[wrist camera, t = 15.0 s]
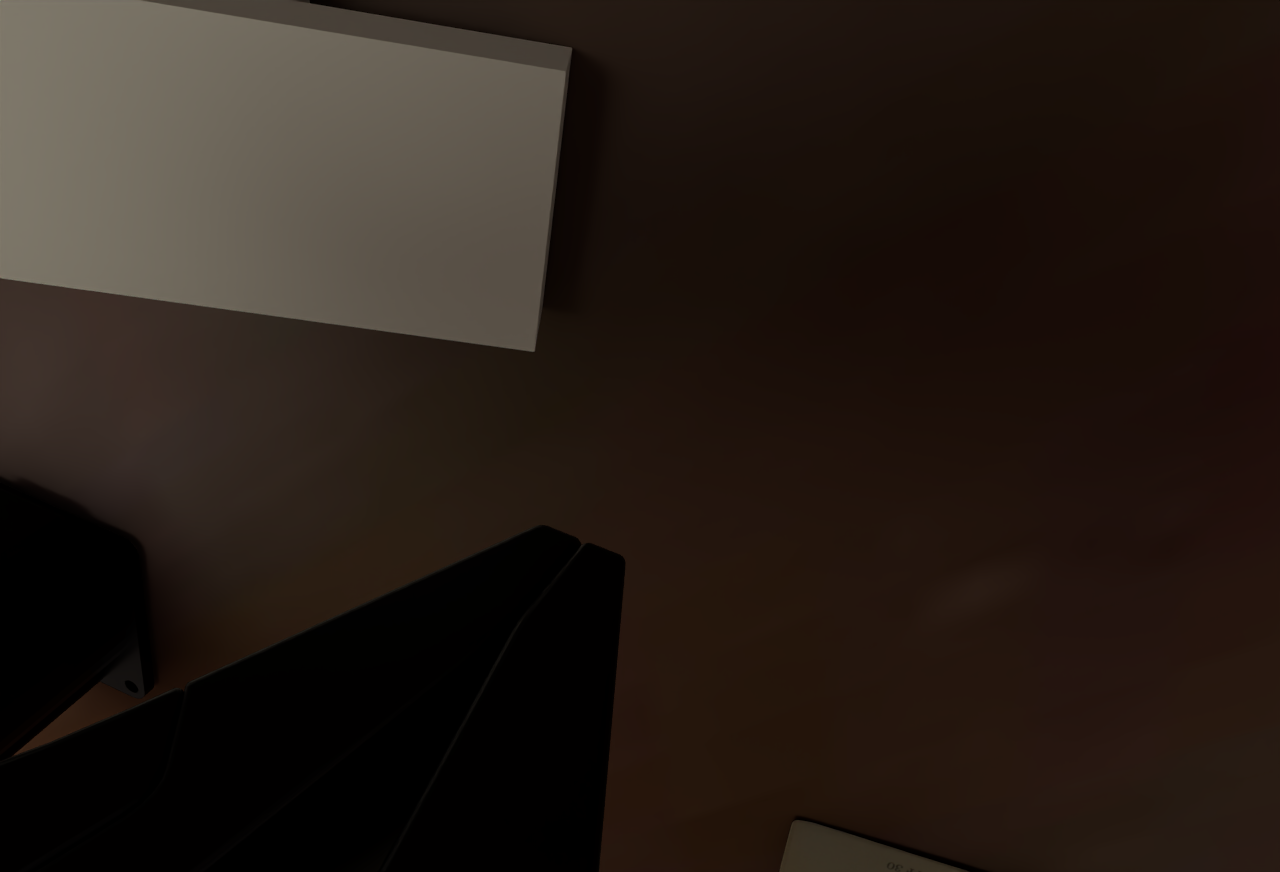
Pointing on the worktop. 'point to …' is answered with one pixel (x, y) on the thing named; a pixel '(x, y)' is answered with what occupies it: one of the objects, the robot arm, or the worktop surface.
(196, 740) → the robot arm
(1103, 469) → the worktop surface
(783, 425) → the worktop surface
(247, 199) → the domino
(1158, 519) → the worktop surface
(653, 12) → the worktop surface
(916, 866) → the skincare box
